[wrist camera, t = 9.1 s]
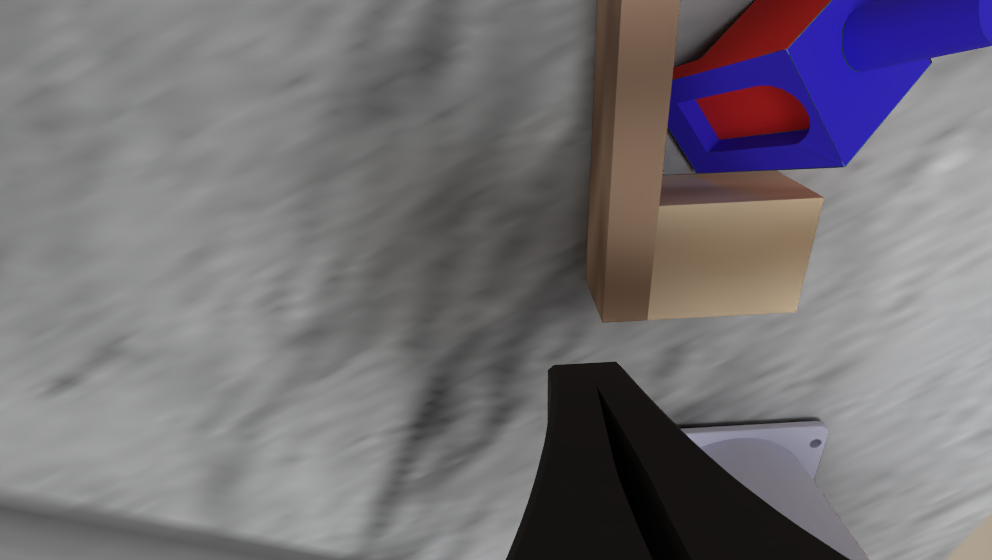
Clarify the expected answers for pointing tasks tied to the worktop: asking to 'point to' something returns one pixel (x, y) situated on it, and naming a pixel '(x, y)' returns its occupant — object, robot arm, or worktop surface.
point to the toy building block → (811, 78)
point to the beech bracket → (678, 196)
